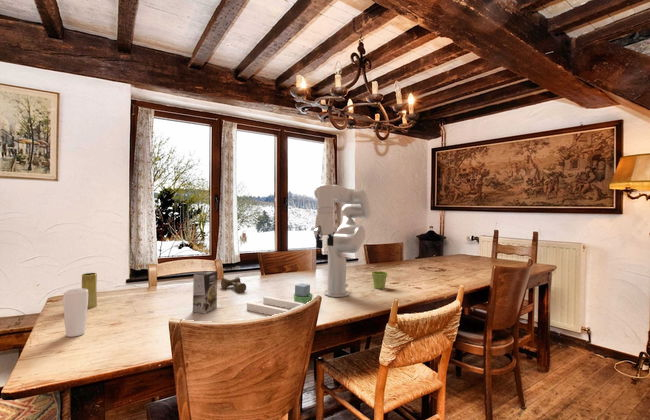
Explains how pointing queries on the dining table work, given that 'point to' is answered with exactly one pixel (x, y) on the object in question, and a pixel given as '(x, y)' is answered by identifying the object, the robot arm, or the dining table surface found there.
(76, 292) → the drinking glass
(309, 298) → the ramekin
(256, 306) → the channel
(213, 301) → the coffee box
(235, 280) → the kendama
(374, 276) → the plant pot
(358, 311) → the dining table surface
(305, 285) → the block
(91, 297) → the vase
